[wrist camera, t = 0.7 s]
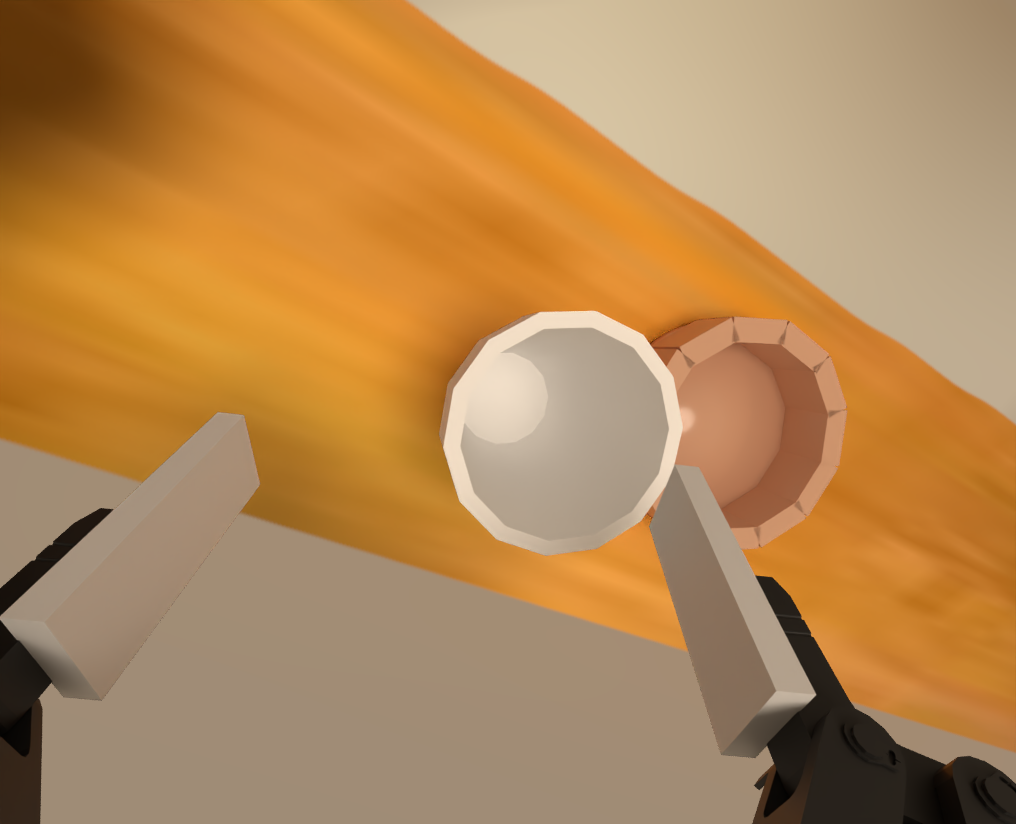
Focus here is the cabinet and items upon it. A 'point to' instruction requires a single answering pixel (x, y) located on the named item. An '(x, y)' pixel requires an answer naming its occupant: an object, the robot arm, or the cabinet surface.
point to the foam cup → (561, 430)
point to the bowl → (756, 419)
